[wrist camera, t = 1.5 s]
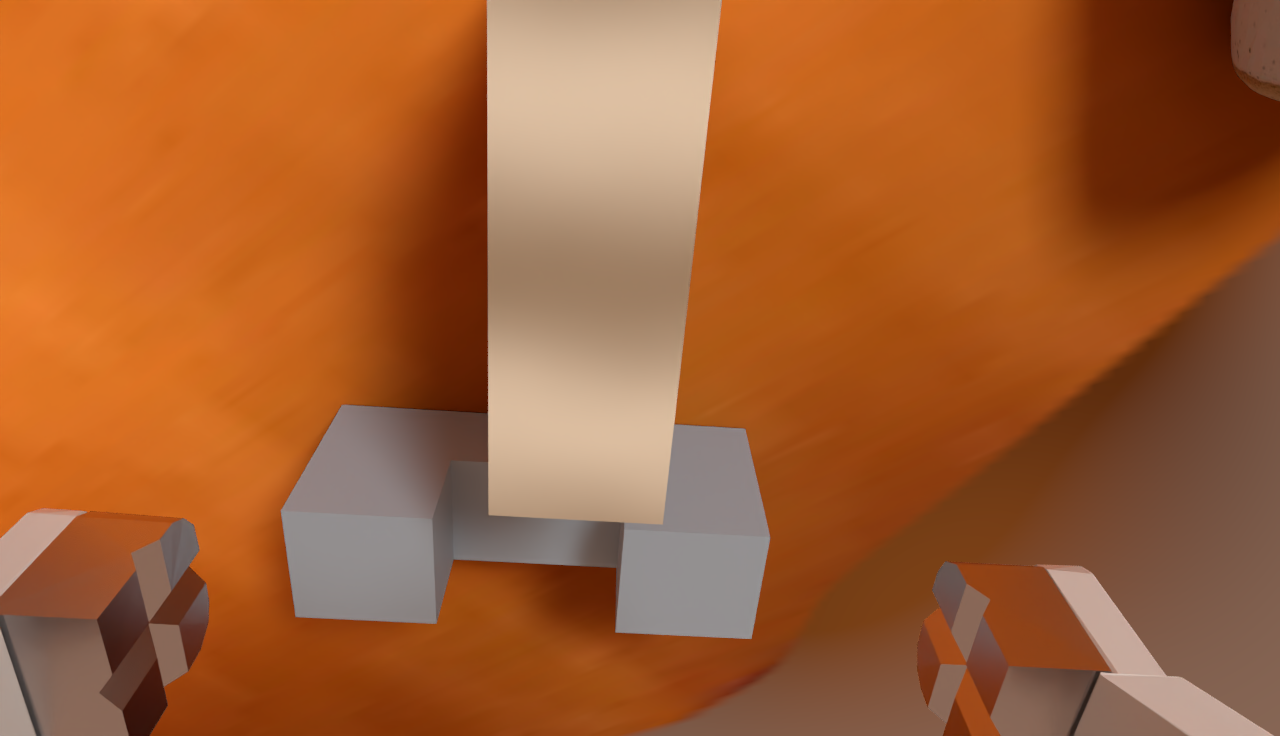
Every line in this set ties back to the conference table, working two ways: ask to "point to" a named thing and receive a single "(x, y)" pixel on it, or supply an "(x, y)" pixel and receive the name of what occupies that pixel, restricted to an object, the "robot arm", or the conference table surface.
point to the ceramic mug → (1257, 45)
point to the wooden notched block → (591, 247)
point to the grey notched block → (514, 527)
